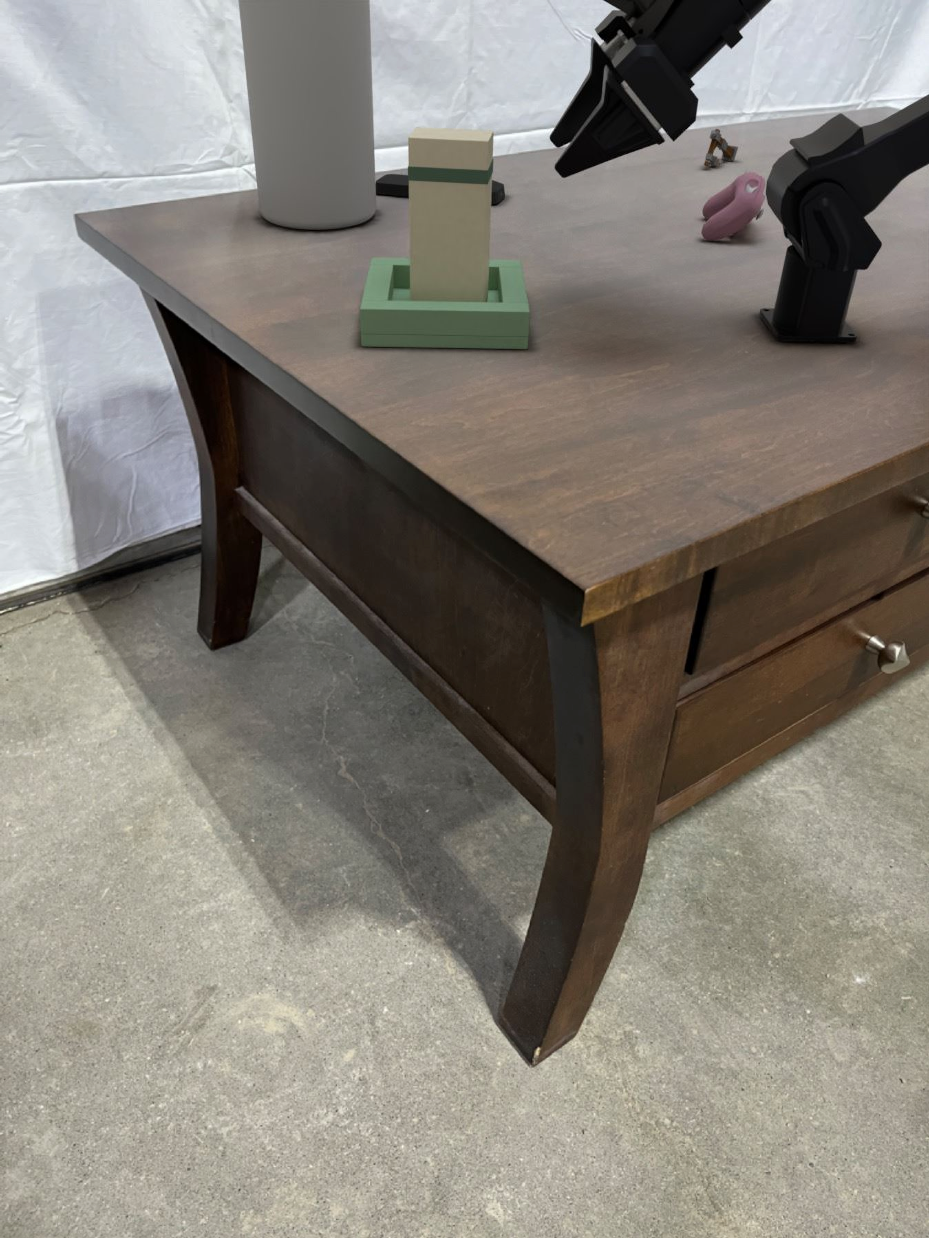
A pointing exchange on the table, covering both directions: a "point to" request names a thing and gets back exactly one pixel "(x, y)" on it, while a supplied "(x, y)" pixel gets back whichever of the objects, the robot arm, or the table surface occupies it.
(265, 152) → the cylinder vase
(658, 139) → the robot arm
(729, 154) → the grey brown angular piece
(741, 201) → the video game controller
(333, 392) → the table surface
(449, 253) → the cream rectangular block
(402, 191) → the remote control
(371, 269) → the green rectangular tray
